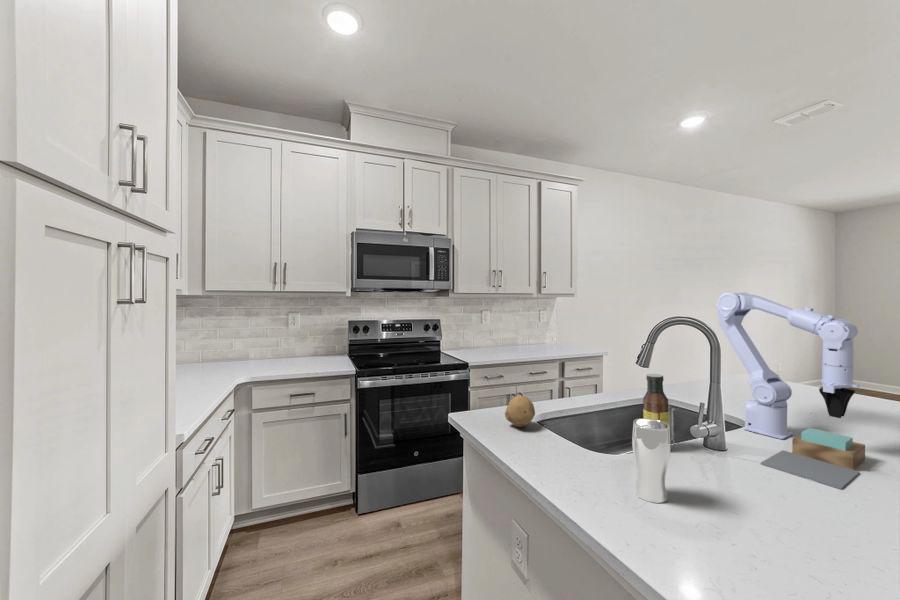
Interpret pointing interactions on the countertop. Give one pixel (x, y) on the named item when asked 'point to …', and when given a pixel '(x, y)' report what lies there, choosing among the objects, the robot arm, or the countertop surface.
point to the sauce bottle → (655, 400)
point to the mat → (811, 469)
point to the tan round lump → (520, 411)
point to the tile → (827, 439)
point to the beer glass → (651, 458)
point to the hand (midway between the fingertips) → (836, 416)
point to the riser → (830, 453)
